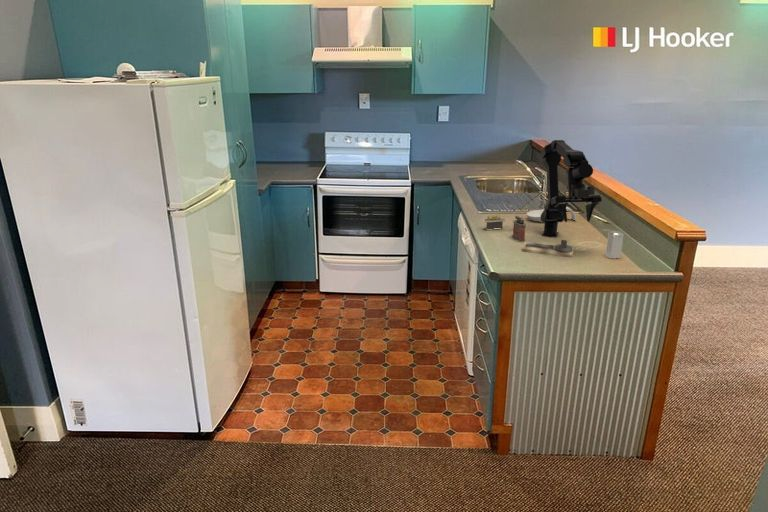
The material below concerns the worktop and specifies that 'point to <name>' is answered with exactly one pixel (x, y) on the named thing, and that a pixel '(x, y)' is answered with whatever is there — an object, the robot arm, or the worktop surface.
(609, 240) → the silver cylindrical piece
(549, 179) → the robot arm
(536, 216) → the spoon rest
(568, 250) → the board
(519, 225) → the lighter
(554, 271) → the worktop surface
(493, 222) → the platform
